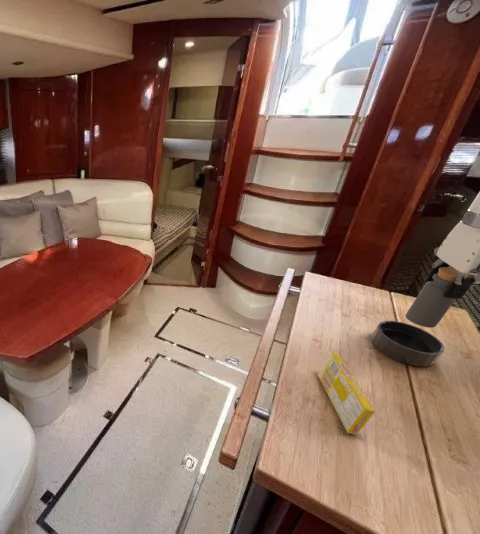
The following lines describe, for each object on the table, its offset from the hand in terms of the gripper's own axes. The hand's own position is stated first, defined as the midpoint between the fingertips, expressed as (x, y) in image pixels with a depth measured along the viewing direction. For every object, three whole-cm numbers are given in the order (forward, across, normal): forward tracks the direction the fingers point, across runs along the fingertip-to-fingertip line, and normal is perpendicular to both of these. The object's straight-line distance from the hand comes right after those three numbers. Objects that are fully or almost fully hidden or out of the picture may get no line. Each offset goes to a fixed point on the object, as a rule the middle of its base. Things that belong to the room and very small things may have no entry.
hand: (441, 289), depth 75 cm
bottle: (+10, 0, 0) cm, 10 cm away
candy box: (+21, -24, +24) cm, 40 cm away
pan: (+20, 0, 0) cm, 20 cm away
